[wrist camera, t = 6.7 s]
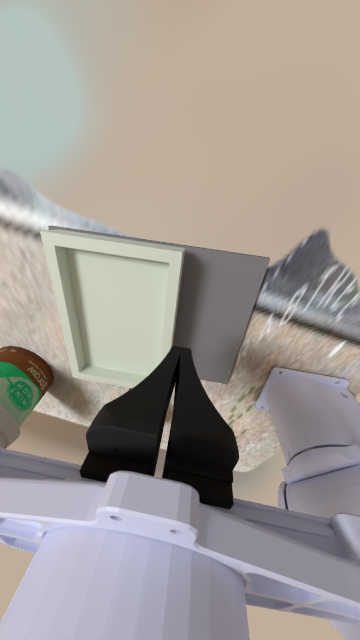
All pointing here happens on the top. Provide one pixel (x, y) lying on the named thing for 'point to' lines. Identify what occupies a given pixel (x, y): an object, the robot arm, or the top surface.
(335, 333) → the top surface
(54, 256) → the pale green tray
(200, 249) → the mat
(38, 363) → the food container
